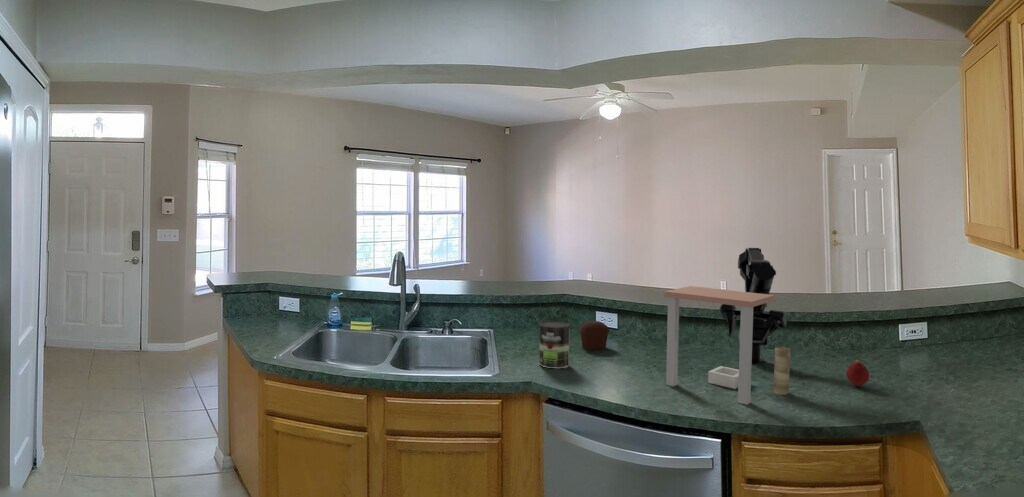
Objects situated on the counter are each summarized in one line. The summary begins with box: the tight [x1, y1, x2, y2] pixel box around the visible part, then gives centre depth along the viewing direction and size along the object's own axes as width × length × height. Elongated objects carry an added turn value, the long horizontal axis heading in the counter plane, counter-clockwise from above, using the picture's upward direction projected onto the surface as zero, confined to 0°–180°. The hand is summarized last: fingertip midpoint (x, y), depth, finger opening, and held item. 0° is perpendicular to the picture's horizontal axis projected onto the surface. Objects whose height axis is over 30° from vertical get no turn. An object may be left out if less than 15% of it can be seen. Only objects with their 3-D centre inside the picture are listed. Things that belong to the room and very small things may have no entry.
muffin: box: [578, 320, 611, 352], centre depth 216 cm, size 12×11×10 cm
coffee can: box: [539, 321, 571, 369], centre depth 192 cm, size 10×10×14 cm
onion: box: [845, 359, 870, 387], centre depth 170 cm, size 6×6×8 cm
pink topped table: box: [663, 285, 776, 405], centre depth 167 cm, size 16×26×28 cm, turn 45°
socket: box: [707, 365, 739, 390], centre depth 174 cm, size 8×8×4 cm
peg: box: [773, 346, 791, 396], centre depth 164 cm, size 4×4×13 cm
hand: (745, 339), depth 172 cm, fingers open, 9 cm apart
